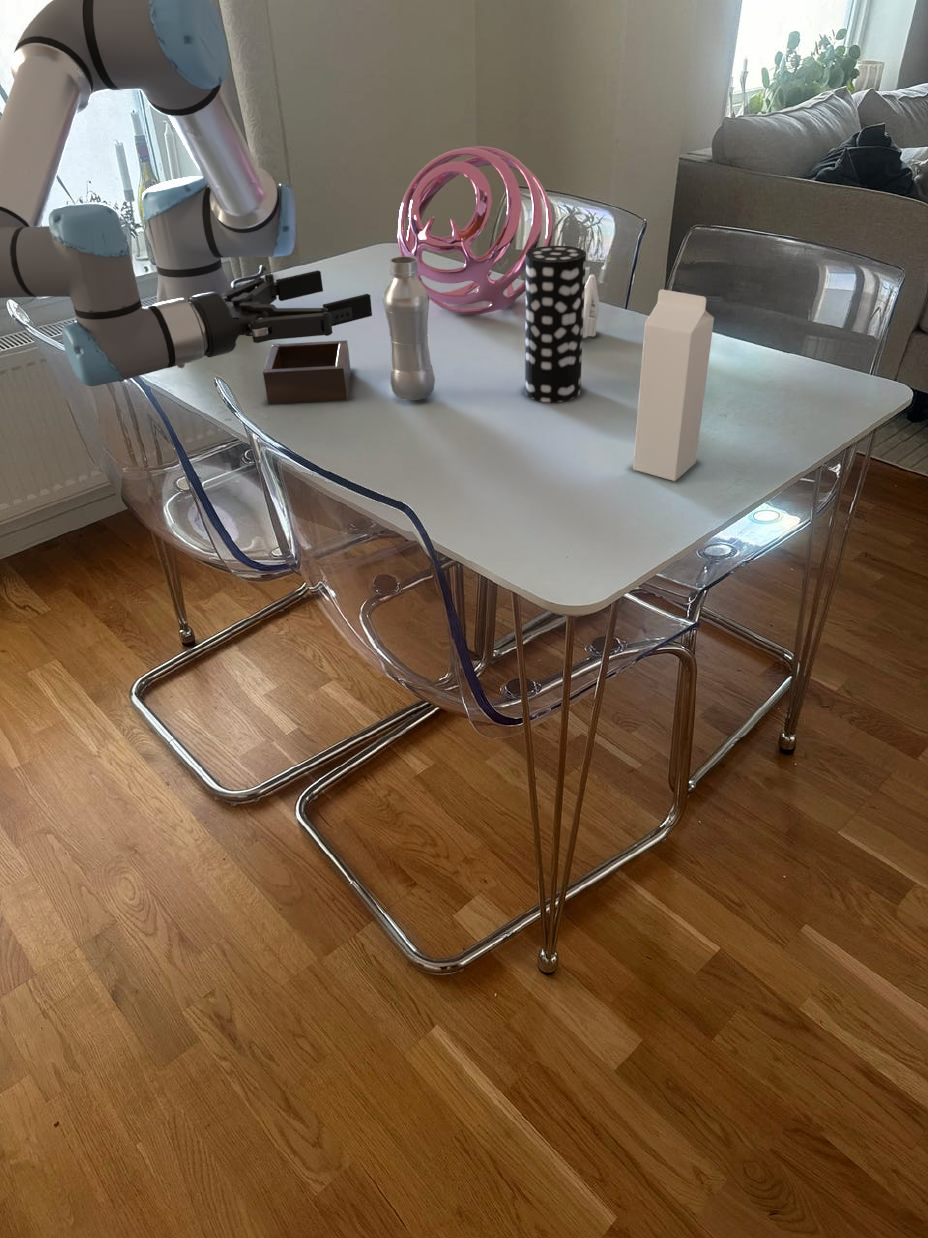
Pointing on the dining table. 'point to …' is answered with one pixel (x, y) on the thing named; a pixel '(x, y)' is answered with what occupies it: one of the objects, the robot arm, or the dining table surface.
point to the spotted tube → (554, 322)
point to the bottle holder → (307, 372)
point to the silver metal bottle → (408, 331)
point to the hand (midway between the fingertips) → (344, 292)
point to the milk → (672, 384)
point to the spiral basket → (472, 229)
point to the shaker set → (590, 307)
